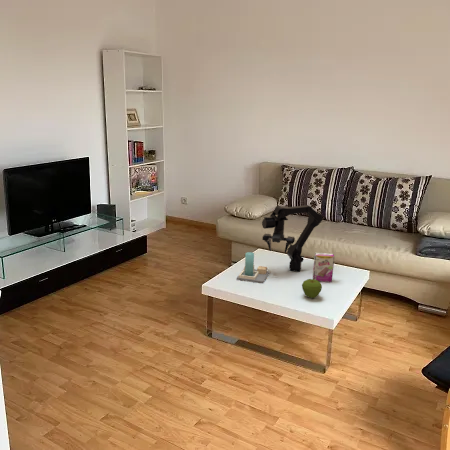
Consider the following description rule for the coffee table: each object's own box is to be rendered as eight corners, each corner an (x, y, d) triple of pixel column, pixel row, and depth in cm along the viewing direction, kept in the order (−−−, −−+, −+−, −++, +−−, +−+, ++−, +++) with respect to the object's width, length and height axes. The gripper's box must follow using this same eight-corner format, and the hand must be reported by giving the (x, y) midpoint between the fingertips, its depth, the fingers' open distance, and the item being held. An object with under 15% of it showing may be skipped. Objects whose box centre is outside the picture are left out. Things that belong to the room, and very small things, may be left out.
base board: (269, 273, 296) (269, 266, 295) (263, 283, 280) (263, 276, 279) (244, 269, 301) (244, 263, 299) (236, 279, 285) (236, 273, 284)
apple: (297, 294, 266) (298, 277, 264) (314, 291, 270) (315, 275, 267) (308, 302, 257) (309, 284, 254) (324, 299, 260) (326, 282, 258)
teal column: (254, 274, 290) (254, 252, 286) (252, 277, 285) (252, 255, 281) (246, 273, 291) (246, 251, 287) (243, 276, 286) (244, 254, 283)
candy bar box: (313, 281, 285) (315, 255, 280) (312, 278, 289) (314, 252, 285) (332, 282, 284) (334, 256, 279) (331, 279, 288) (333, 253, 284)
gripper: (260, 228, 286) (259, 254, 290) (292, 232, 280) (290, 258, 284) (265, 224, 296) (264, 248, 300) (295, 227, 290) (293, 252, 295)
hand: (277, 252), depth 295 cm, fingers open, 9 cm apart
